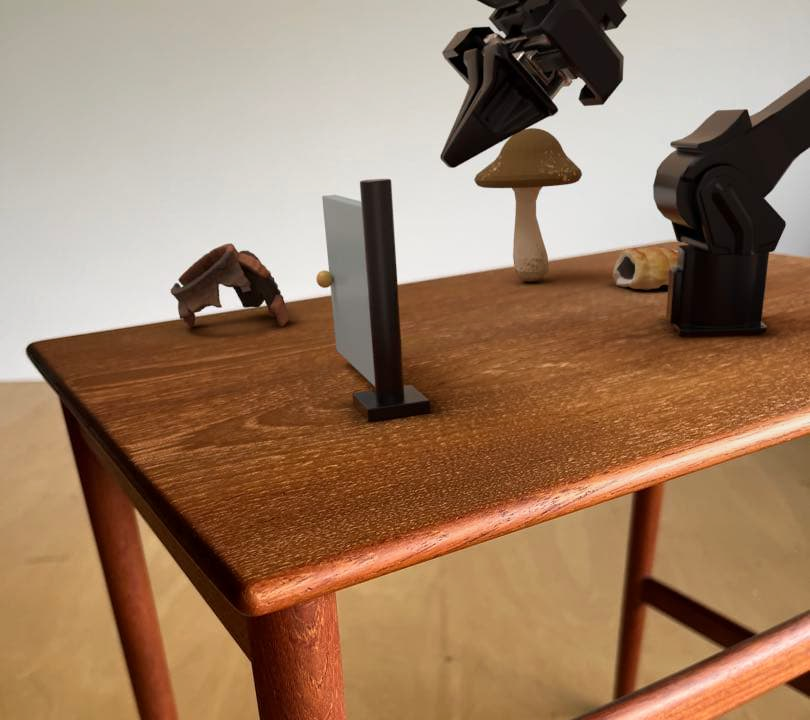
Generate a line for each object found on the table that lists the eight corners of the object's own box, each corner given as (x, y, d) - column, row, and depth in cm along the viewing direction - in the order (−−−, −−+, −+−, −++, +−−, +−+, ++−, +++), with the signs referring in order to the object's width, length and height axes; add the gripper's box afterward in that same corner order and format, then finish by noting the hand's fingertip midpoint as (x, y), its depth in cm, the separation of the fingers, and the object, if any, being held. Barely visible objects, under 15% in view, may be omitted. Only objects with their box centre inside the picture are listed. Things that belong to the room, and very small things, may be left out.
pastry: (688, 275, 92) (692, 237, 91) (725, 285, 87) (729, 244, 85) (606, 284, 91) (608, 245, 89) (638, 295, 85) (640, 253, 83)
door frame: (430, 412, 55) (419, 178, 49) (368, 421, 54) (349, 184, 48) (411, 396, 58) (399, 176, 52) (353, 404, 57) (333, 181, 51)
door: (392, 387, 57) (380, 205, 52) (359, 392, 56) (343, 209, 51) (349, 348, 67) (335, 194, 62) (320, 352, 67) (305, 197, 62)
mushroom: (500, 272, 101) (498, 129, 95) (594, 276, 95) (598, 123, 89) (459, 286, 94) (454, 133, 88) (558, 291, 89) (560, 127, 82)
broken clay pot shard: (289, 338, 79) (231, 261, 74) (207, 383, 82) (148, 313, 78) (307, 280, 88) (256, 209, 83) (233, 324, 91) (181, 257, 87)
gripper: (464, -96, 64) (330, 83, 66) (583, -176, 48) (400, 65, 50) (561, 25, 69) (434, 187, 71) (699, -10, 53) (529, 202, 55)
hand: (446, 163), depth 62 cm, fingers closed
